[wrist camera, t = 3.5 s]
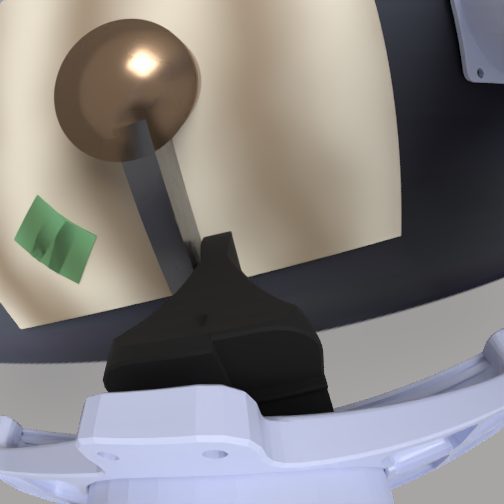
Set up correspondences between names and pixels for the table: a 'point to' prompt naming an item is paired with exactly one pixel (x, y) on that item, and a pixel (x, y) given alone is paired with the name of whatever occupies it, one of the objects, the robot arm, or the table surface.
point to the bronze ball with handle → (137, 125)
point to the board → (198, 148)
